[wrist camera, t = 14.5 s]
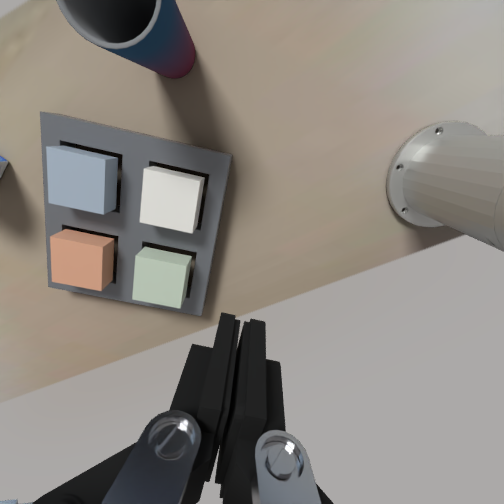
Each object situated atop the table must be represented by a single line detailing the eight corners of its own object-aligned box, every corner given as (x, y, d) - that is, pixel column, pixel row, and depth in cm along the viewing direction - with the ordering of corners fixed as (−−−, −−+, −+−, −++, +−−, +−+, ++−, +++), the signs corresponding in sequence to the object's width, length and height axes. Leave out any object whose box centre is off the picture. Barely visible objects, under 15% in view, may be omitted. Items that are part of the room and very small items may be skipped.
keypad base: (232, 154, 35) (230, 156, 32) (204, 304, 43) (201, 316, 40) (57, 113, 34) (40, 111, 31) (62, 276, 42) (48, 286, 39)
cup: (185, 100, 33) (134, 72, 19) (130, 63, 32) (33, 3, 18) (214, 40, 31) (181, -40, 17) (157, -2, 30) (71, -127, 16)
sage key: (191, 256, 36) (186, 266, 34) (185, 296, 39) (180, 308, 36) (144, 246, 36) (135, 255, 33) (141, 287, 38) (132, 299, 35)
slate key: (118, 157, 33) (105, 159, 30) (115, 208, 35) (103, 214, 32) (64, 145, 32) (46, 146, 29) (65, 197, 34) (48, 202, 32)
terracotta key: (114, 238, 36) (102, 247, 33) (112, 280, 38) (101, 291, 36) (66, 228, 36) (50, 236, 33) (66, 271, 38) (51, 281, 35)
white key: (204, 177, 33) (200, 181, 30) (197, 225, 35) (192, 233, 33) (153, 165, 33) (143, 168, 30) (148, 215, 35) (139, 222, 32)
